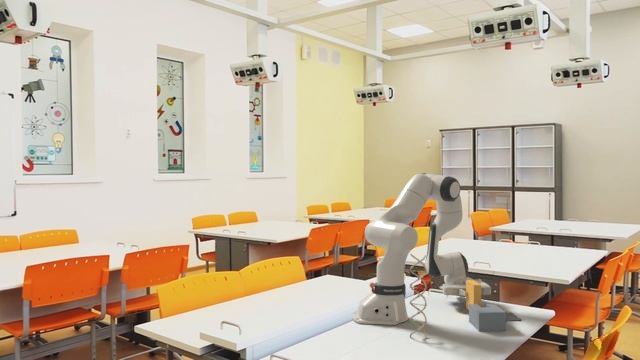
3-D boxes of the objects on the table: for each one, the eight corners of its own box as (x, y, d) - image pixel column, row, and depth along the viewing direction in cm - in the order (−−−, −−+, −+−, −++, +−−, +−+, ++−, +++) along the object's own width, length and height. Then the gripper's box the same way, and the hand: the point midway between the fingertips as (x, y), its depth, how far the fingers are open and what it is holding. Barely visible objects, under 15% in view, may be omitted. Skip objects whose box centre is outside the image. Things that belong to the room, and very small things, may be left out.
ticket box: (479, 331, 192) (479, 312, 192) (468, 321, 204) (468, 303, 204) (505, 330, 192) (505, 312, 192) (493, 320, 205) (493, 303, 204)
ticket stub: (473, 314, 208) (473, 285, 208) (465, 307, 218) (466, 279, 218) (481, 314, 208) (481, 285, 208) (472, 307, 218) (473, 279, 218)
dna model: (406, 339, 184) (406, 255, 183) (412, 333, 190) (412, 252, 189) (424, 342, 181) (424, 256, 180) (429, 336, 186) (430, 253, 186)
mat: (496, 321, 204) (496, 320, 204) (487, 313, 214) (487, 312, 214) (521, 320, 204) (521, 319, 204) (511, 313, 214) (511, 312, 214)
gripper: (438, 279, 229) (446, 286, 215) (484, 279, 229) (495, 286, 215) (438, 293, 229) (446, 301, 215) (484, 293, 230) (495, 301, 216)
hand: (471, 294), depth 215 cm, fingers closed on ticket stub, 3 cm apart
